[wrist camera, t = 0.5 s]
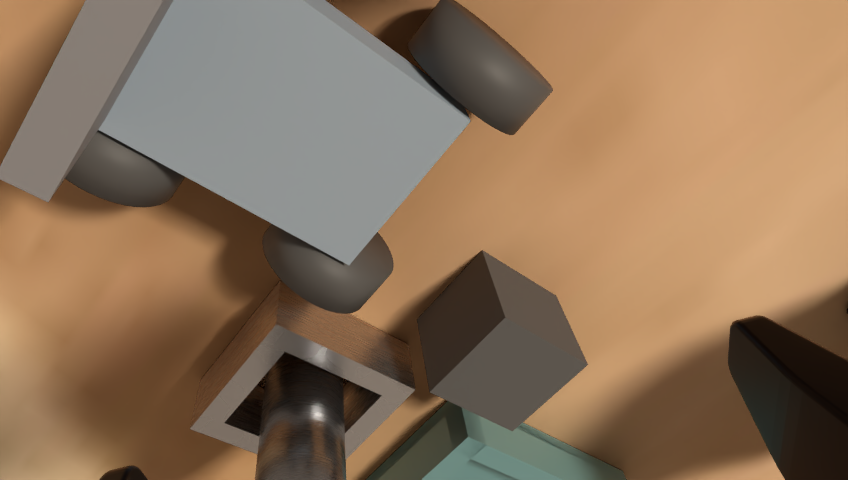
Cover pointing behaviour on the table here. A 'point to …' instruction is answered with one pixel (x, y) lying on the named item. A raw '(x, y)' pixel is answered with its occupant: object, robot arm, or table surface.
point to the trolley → (268, 120)
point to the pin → (301, 423)
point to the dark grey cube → (497, 343)
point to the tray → (487, 453)
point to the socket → (315, 343)
